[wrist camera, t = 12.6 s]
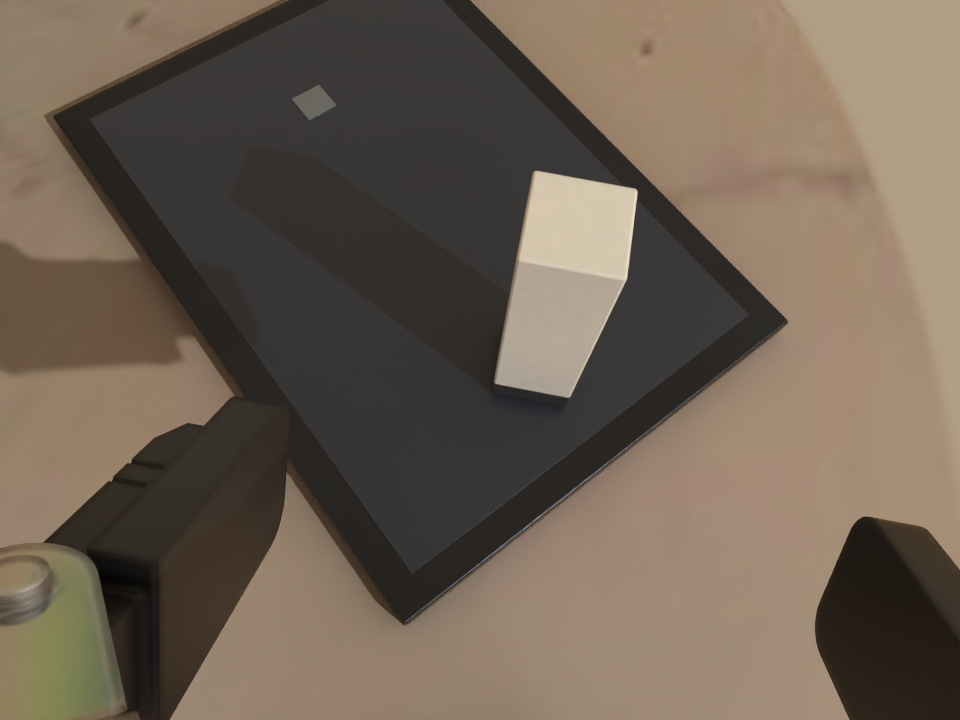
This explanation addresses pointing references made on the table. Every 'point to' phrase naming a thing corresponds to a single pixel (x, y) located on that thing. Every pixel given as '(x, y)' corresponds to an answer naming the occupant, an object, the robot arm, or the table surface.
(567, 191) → the tall cream square pillar
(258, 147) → the tablet
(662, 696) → the table surface
